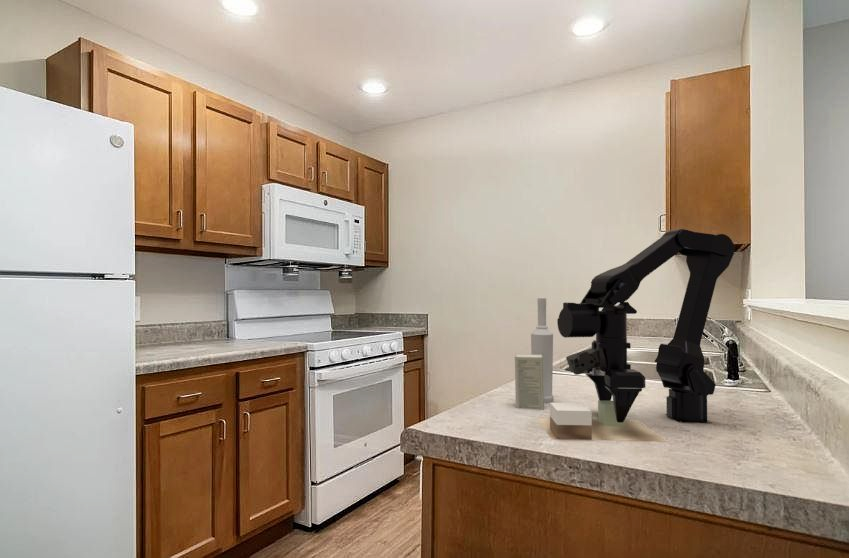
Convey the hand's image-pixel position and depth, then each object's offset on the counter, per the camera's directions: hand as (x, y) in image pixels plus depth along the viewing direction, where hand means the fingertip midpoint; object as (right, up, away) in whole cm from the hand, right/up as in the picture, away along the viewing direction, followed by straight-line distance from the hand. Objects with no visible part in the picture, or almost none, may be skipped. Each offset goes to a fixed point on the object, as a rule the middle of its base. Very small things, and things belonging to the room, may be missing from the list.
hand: (611, 415), depth 94 cm
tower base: (-10, -1, -7) cm, 13 cm away
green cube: (0, -1, 0) cm, 1 cm away
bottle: (-9, -3, +19) cm, 22 cm away
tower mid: (-10, +1, -7) cm, 13 cm away
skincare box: (-13, -3, +14) cm, 19 cm away
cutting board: (-4, -2, -4) cm, 6 cm away
